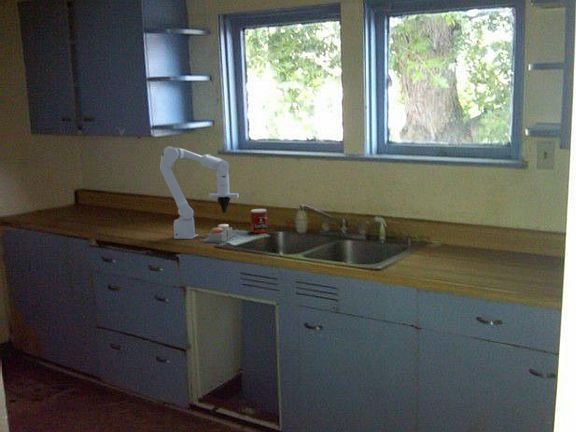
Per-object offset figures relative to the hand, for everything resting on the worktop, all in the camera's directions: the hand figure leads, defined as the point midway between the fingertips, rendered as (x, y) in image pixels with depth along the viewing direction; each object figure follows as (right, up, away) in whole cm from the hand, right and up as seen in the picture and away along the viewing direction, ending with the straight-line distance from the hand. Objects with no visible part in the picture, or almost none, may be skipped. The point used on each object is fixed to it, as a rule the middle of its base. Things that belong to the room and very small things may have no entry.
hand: (224, 212), depth 326 cm
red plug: (-2, -12, -14) cm, 18 cm away
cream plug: (0, -10, -5) cm, 12 cm away
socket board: (-1, -12, -9) cm, 16 cm away
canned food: (+17, -10, +2) cm, 20 cm away
